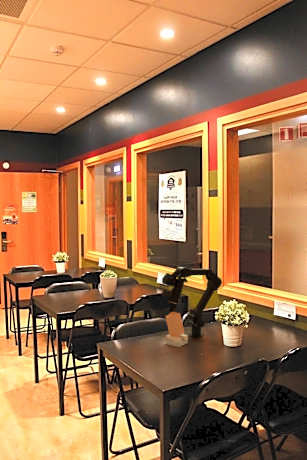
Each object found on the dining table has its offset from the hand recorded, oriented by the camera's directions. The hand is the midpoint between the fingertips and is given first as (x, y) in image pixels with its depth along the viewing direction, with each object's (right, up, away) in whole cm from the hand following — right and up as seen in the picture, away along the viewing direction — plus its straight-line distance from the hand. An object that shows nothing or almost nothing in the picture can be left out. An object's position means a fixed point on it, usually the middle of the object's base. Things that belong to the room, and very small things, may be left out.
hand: (170, 313), depth 247 cm
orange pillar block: (+3, -10, -7) cm, 12 cm away
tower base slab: (+3, -16, -7) cm, 18 cm away
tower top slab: (+3, -13, -7) cm, 15 cm away
